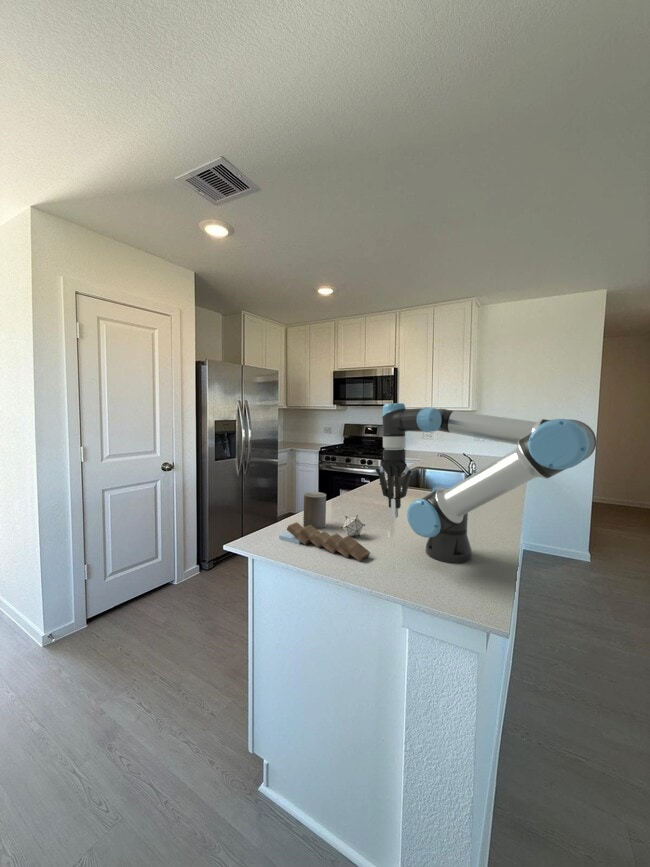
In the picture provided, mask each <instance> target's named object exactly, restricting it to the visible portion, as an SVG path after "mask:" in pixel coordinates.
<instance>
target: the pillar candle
mask: <svg viewBox="0 0 650 867" xmlns="http://www.w3.org/2000/svg"><path fill="white" fill-rule="evenodd" d="M326 503H327V493H324V492H319V491H317V492H316V491H309V492H305V493H304V494H303V519H302V520H303V524H302V527H306V526H309V525H312V526H313V527H314V528H316V529H317V530H318V529H319V530H320V529H323V528H325V527H326V521H327V520H326V516H327V515H326V514H327V508H326V507H327V504H326Z"/></svg>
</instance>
